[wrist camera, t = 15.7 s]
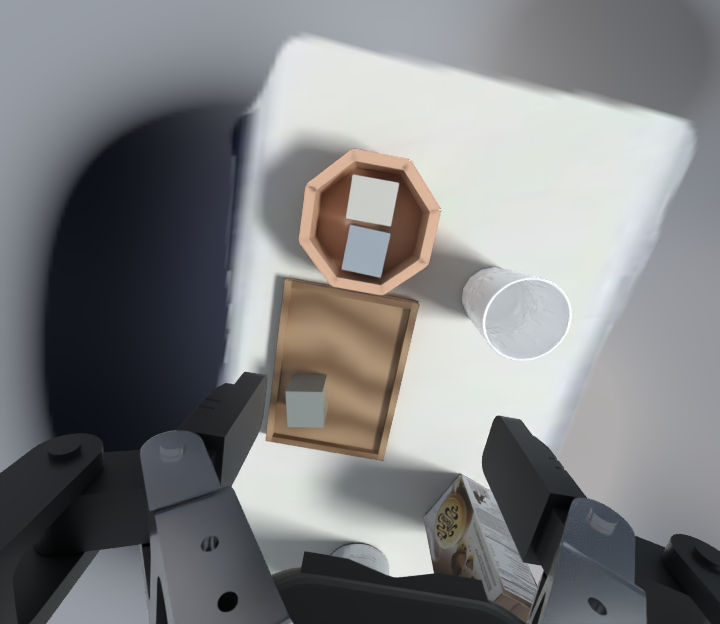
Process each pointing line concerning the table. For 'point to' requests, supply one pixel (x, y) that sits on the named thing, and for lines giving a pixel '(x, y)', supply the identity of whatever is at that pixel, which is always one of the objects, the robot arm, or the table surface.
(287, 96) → the table surface
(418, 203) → the terracotta bowl
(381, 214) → the pale grey cube
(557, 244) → the table surface
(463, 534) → the coffee box
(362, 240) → the pale blue cube
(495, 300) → the white cup
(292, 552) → the table surface
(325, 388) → the medium grey cube
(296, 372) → the walnut tray
